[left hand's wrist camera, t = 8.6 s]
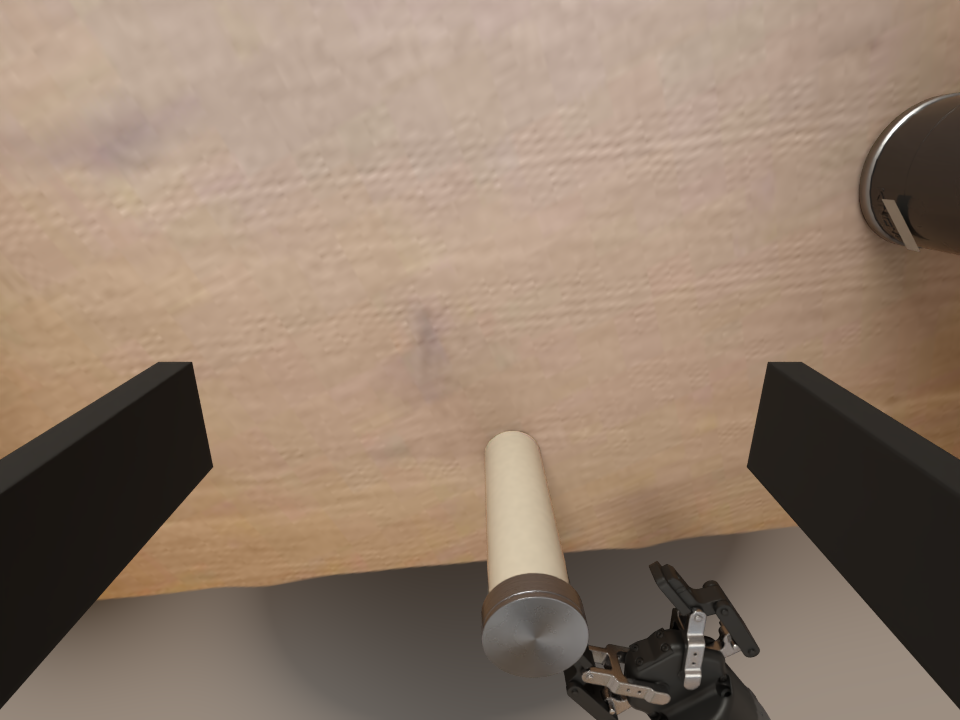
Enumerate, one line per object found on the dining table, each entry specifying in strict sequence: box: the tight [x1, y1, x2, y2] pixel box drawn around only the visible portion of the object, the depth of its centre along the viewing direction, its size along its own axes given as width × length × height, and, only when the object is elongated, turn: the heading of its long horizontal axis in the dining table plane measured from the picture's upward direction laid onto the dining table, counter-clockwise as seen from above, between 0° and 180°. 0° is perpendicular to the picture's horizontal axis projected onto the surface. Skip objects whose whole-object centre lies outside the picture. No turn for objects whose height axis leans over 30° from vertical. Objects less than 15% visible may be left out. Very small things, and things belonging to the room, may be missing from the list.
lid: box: [481, 573, 589, 678], centre depth 27 cm, size 5×5×2 cm
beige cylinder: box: [484, 431, 570, 594], centre depth 34 cm, size 4×4×17 cm
